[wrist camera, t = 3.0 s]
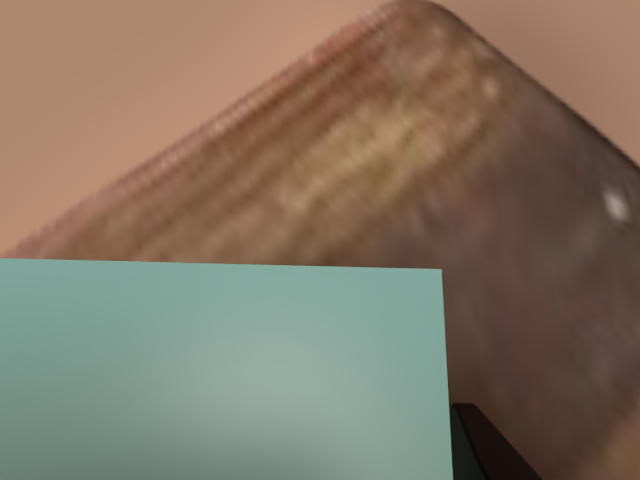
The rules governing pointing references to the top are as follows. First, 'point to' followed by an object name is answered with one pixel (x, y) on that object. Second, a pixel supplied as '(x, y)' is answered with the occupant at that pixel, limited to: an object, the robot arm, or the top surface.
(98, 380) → the tall mint green block
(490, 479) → the robot arm
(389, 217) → the top surface
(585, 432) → the top surface
